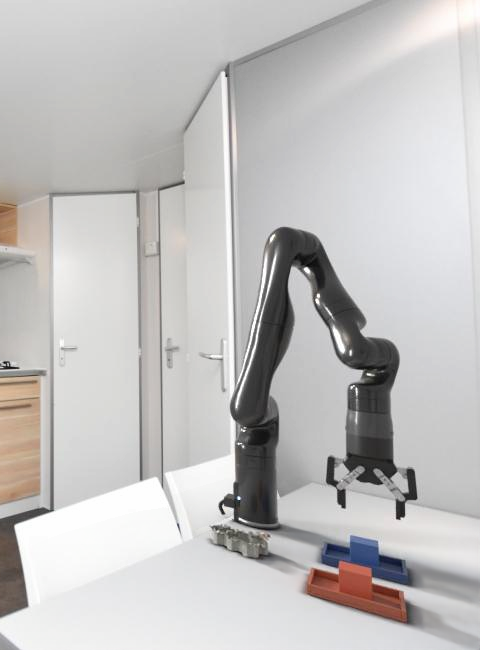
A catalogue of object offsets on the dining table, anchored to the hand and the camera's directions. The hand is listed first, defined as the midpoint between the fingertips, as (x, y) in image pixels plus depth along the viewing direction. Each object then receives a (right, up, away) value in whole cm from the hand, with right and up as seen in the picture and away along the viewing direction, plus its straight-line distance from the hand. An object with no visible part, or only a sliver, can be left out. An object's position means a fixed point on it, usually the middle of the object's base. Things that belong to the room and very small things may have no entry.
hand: (370, 513), depth 97 cm
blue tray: (-1, -11, 0) cm, 11 cm away
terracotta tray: (-14, -9, -13) cm, 21 cm away
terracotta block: (-14, -9, -13) cm, 21 cm away
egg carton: (-23, -11, +7) cm, 26 cm away
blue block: (-1, -10, 0) cm, 10 cm away
